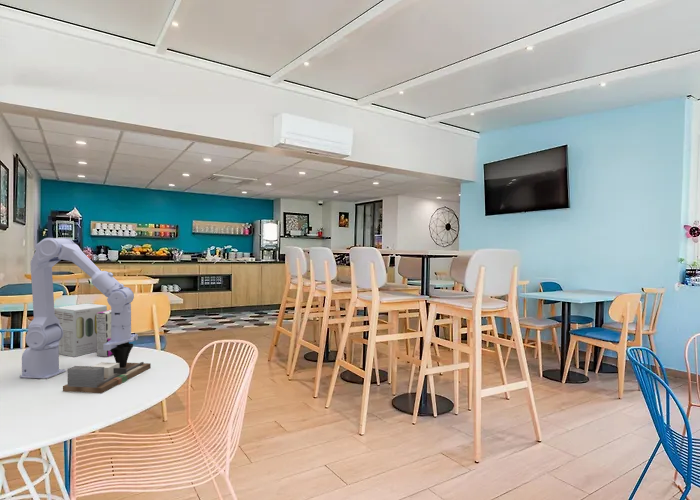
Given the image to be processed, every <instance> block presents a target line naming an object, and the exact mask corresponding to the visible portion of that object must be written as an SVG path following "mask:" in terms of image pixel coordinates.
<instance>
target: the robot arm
mask: <svg viewBox="0 0 700 500" xmlns="http://www.w3.org/2000/svg"><path fill="white" fill-rule="evenodd" d="M61 260H63V261H67V262H71V263H72V264H74V265H75V266H76V267H78V268H79V269H80V270H81V271H83V272H84V273H85V274H86V275H88V276H89V277H90V278H91V284H92V285H93V286H94V287H95V288H96V289H97V290H98V291H99V292H100V293H102V295H104V296H105V298H106V301H107V303H108V305H109V306H110V310H111V340H110V341H108V342H107V343H105V344H103V350H108V351H109V350H110V351H111V352H112V354H113V355H112V356H113V358H114V361H115V363H119V368H124V367H126V364H127V363H128V359H129V356H130V353H131V350H132V349H133V347H134V344H133V342H134V341H138V335H139V334H137V333H132V302H133V301H134V299H135V295H134V291H133V290H132V289H131V288H130V287H127V286H125V284H123V283H121V282H119V281H118V280H117V278H115V277H114V273H112V272H111V271H110V272H109V271H107V270H101V269H100V268H99V267H98V266H97V265H96V264H95V263H94V262H93V261H92V260H91V259H90V258H89V256H87V254H86V253H84V251H82V249H81V248H80V246H79V245H78V244H77V243H75V242H74V241H73V240H72V239H71V238H68V237H60V238H58V237H57V238H56V237H45V238H43V239H41V240H40V241H39V242H38V243H36V244H35V252H34V254H33V256H32V258H31V260H30V274H31V279H30V280H31V294H32V309H33V318H32V319H31V322H30V323H29V324H28V326H27V333H26V335H25V342H26V343H25V344H26V345H27V346H28V347H27V348H25V349H24V351H23V352H22V355H21V375H19V378H27V379H49V378H52V377H54V376H56V375H57V376H58V375H60V374H62V373H65V372H66V371H67V370H66V369H62V368H61V369H60V354H59V340H61V338H62V337H63V329H62V327H61V326H60V320H59V319H58V318H57V317H56V316H55V311H54V308H55V299H54V280H53V267H54V266H55V265H56V264H58V263H60V261H61Z"/></svg>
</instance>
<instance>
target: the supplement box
mask: <svg viewBox="0 0 700 500" xmlns="http://www.w3.org/2000/svg"><path fill="white" fill-rule="evenodd" d="M54 311H55V316H56V317H57V318H58V319H59V320H60V326H61V327H62V329H63V337H62V338H61V340H59V355H62V356H63V355H64V356H68V357H73V358H77V357H80V356H84V355H85V356H86V355H88V354H92V353H96V352H97V328H96V327H97V326H96V313H99V312H103V311H108V305H105V304H98V303H97V304H95V303H88V302H87V303H86V302H85V303H80V304H71V305H65V306H59V307H58V306H57V307H54Z"/></svg>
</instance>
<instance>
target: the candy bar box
mask: <svg viewBox="0 0 700 500" xmlns="http://www.w3.org/2000/svg"><path fill="white" fill-rule="evenodd" d="M96 326H97V327H96V328H97V357H102V358H105V357H106V358H109V357H112V356H113V354H112V352H111V351H110V350H109V351H108V350H103V344H105V343H107V342H108V341H110V340H111V309H107V311H103V312H99V313H96Z"/></svg>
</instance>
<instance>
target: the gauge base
mask: <svg viewBox="0 0 700 500" xmlns="http://www.w3.org/2000/svg"><path fill="white" fill-rule="evenodd" d="M151 366H152V365H151V362H150V363H146V362H144V361H142V362H127V364H126V367H124V368H127V374H116V375H114V376H111V377H109V378H104V384H103V385H101V386H99V387H97V388H92V387H71V386H68V383H67V384H64V385H63V386H62V392H68V393H69V392H70V393H89V394H90V393H91V394H92V393H94V394H103V393H105V392H107V391H109V390H111V389H113V388H115V387H117V386H119V385H121V384H123V383H125V382H127V381H128V380H130V379H133V378H134V377H136V376H137V375H140V374H142V373H144V372H145V371H147V370H149V369H151Z"/></svg>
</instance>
